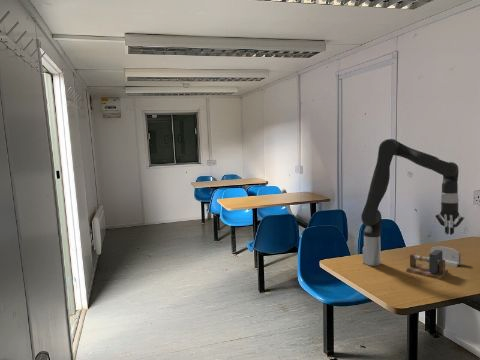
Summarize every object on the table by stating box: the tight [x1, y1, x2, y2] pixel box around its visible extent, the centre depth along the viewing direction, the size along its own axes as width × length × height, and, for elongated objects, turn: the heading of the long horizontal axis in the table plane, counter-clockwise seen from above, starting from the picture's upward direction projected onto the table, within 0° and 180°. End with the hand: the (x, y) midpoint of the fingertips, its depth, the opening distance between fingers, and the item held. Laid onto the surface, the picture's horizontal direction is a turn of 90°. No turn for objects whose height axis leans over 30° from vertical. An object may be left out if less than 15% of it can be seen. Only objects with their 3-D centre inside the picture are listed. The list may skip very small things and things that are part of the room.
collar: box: [428, 250, 442, 274], centre depth 184 cm, size 3×10×10 cm, turn 131°
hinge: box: [428, 245, 462, 268], centre depth 201 cm, size 17×5×10 cm, turn 35°
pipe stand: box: [406, 253, 449, 280], centre depth 187 cm, size 17×12×8 cm
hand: (449, 234), depth 177 cm, fingers closed
